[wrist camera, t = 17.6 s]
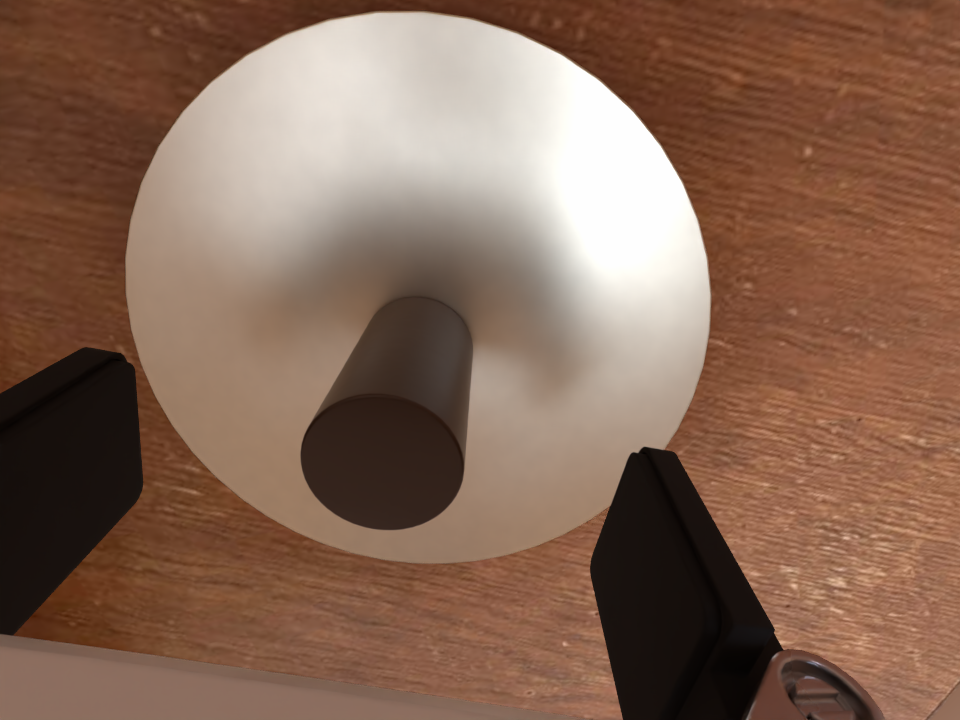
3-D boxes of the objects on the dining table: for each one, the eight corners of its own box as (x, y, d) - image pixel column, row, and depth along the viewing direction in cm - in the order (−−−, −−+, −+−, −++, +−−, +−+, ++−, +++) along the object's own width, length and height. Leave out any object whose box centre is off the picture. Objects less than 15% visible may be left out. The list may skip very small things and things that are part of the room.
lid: (129, -53, 12) (-234, -221, 6) (791, 97, 13) (1051, 81, 7) (163, 498, 19) (5, 684, 13) (605, 570, 20) (656, 775, 14)
